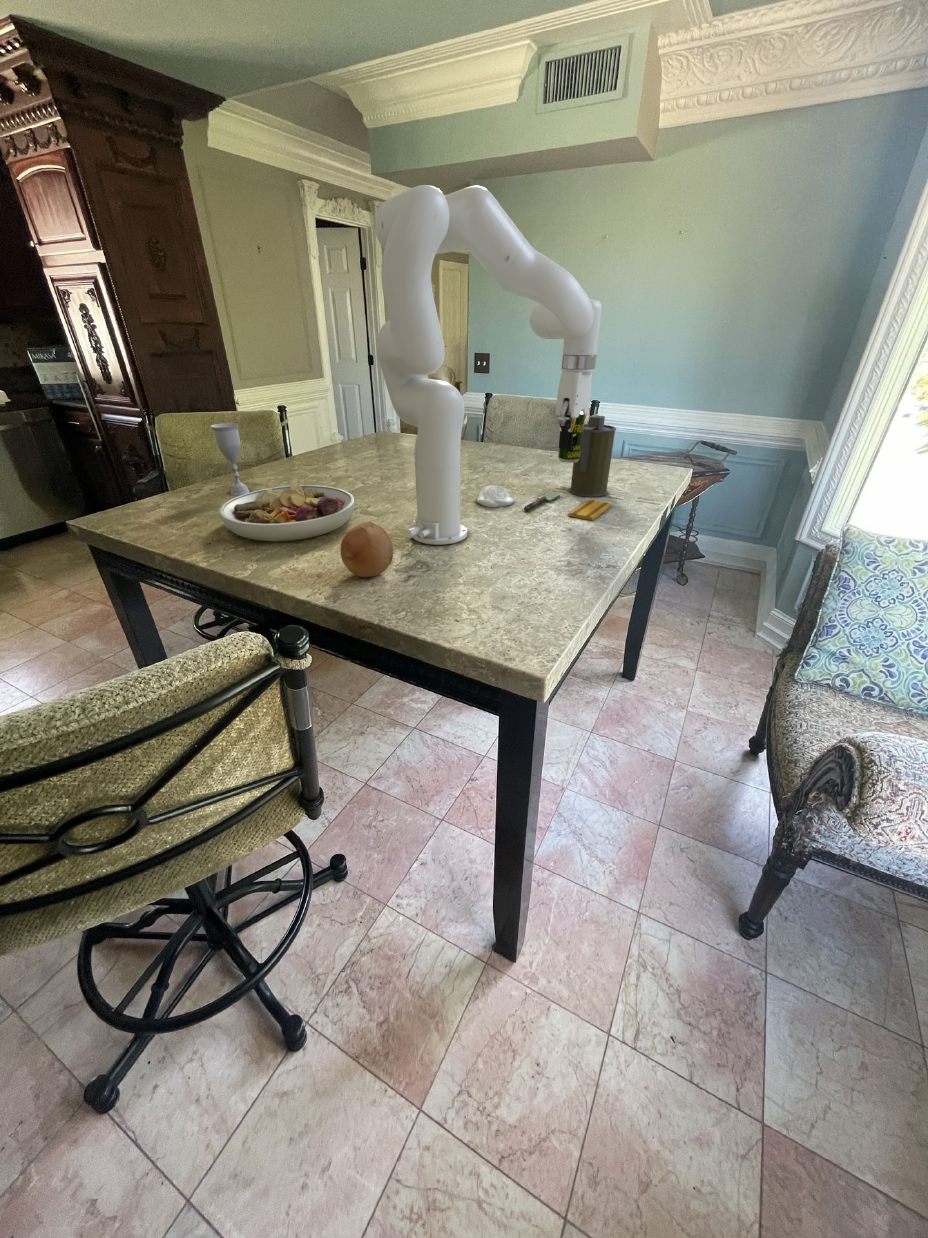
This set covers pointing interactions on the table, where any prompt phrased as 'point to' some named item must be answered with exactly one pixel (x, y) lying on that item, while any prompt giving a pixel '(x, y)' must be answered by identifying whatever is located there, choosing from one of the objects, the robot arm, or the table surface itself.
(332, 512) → the bowl
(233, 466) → the chalice
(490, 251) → the robot arm
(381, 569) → the onion
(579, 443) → the beer can
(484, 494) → the rose
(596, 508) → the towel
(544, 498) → the spatula
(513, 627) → the table surface
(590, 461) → the canister
